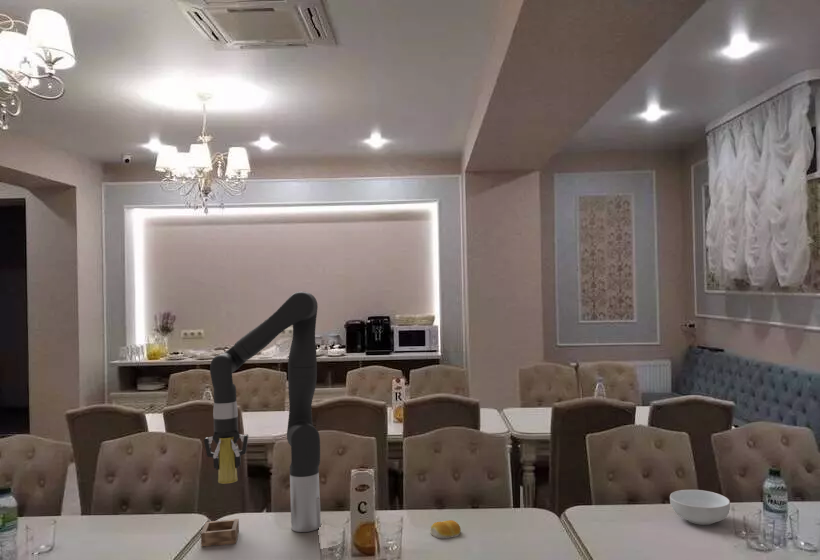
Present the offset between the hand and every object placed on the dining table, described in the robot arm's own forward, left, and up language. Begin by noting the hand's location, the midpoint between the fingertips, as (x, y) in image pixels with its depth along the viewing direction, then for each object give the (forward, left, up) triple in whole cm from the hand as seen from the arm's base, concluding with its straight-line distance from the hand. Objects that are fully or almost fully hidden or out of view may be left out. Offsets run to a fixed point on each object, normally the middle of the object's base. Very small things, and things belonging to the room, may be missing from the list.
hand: (227, 468), depth 204 cm
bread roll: (-66, +22, -20) cm, 72 cm away
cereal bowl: (-145, +32, -20) cm, 150 cm away
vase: (0, 0, -4) cm, 4 cm away
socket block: (+2, +8, -19) cm, 21 cm away
